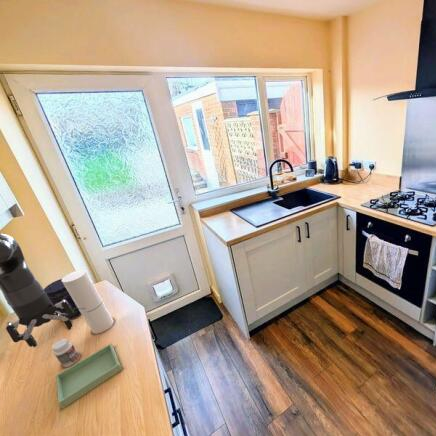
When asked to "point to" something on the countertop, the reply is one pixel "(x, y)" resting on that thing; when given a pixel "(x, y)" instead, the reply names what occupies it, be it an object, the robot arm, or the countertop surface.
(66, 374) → the tray
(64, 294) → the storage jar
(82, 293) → the cylindrical container
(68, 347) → the pill bottle
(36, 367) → the countertop surface
